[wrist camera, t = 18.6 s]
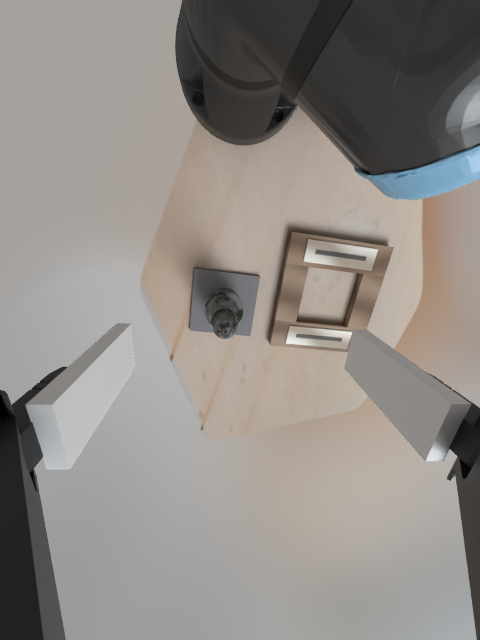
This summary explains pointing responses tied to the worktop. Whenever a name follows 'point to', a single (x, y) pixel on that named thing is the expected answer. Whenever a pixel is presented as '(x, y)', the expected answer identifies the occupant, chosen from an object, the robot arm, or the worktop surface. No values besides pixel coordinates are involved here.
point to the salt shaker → (224, 312)
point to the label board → (334, 257)
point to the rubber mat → (214, 280)
